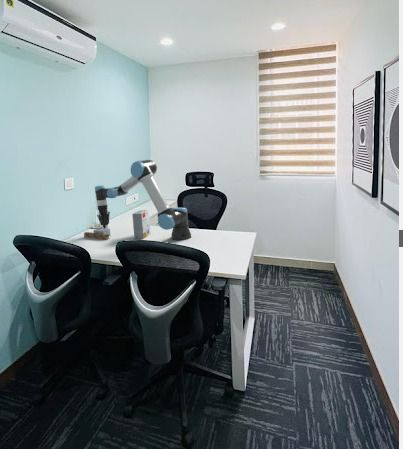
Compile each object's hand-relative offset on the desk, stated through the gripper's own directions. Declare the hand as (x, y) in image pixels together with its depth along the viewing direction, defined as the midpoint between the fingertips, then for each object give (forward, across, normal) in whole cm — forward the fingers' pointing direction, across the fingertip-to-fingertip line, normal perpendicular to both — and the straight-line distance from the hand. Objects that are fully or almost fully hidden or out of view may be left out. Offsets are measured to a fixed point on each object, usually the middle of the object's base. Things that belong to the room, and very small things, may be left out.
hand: (106, 232), depth 275 cm
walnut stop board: (+1, +11, 0) cm, 11 cm away
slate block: (+2, +6, +1) cm, 6 cm away
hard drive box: (+2, -4, +34) cm, 34 cm away
